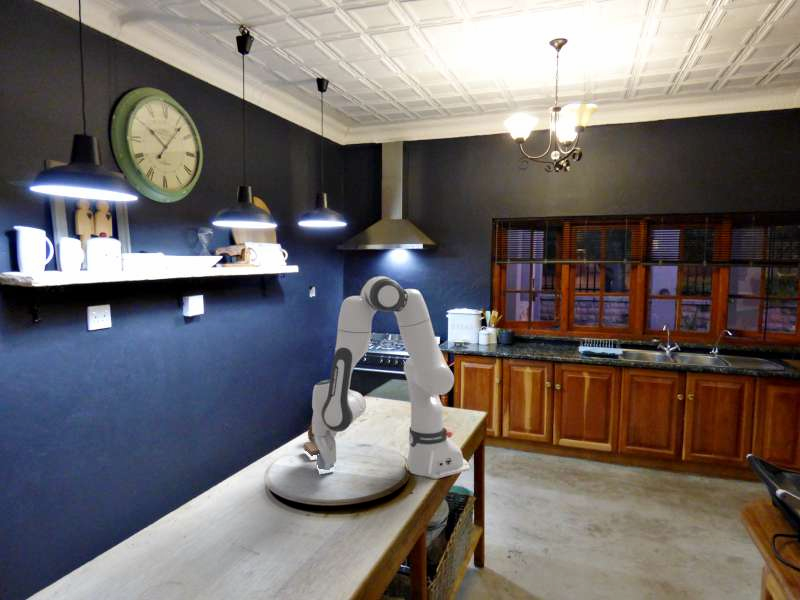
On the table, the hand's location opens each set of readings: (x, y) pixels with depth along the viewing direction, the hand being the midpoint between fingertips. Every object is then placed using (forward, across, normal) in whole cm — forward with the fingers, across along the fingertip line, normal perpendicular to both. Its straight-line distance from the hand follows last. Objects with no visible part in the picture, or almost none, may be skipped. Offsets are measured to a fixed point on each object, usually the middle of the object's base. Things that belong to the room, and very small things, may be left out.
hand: (325, 466), depth 166 cm
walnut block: (+2, +14, 0) cm, 14 cm away
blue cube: (+2, 0, 0) cm, 2 cm away
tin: (+2, +29, -5) cm, 29 cm away
